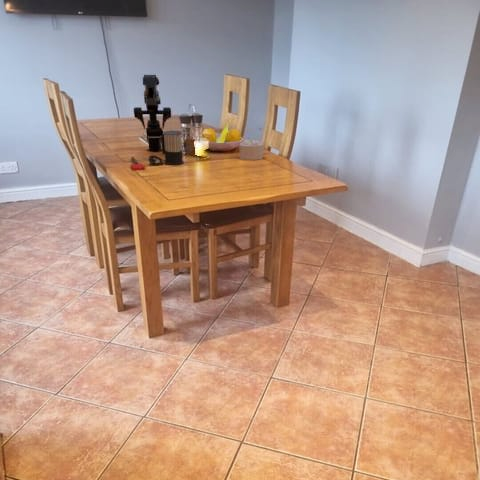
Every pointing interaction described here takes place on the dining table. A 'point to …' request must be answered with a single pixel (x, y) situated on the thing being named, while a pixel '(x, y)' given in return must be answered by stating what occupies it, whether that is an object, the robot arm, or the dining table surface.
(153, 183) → the dining table surface
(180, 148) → the milk frother
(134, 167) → the spatula
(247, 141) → the lumpy-topped squat cylinder
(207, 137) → the fruit bowl
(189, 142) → the tin
